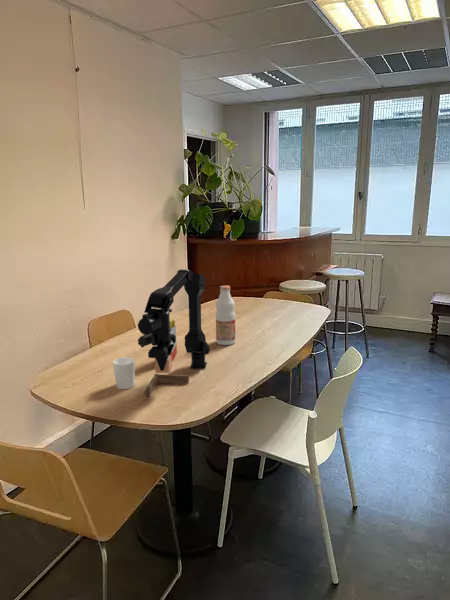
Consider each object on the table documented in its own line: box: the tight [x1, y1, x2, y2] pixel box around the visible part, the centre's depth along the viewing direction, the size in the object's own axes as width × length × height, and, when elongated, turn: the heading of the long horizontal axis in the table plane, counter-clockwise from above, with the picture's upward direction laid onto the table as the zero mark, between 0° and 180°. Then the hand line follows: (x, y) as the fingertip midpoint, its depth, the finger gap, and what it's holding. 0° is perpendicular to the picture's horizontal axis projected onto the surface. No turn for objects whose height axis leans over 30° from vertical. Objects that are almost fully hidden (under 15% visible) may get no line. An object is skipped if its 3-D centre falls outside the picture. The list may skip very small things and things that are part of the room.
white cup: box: [112, 356, 136, 390], centre depth 167 cm, size 8×8×10 cm
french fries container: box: [153, 319, 178, 362], centre depth 191 cm, size 5×11×18 cm, turn 153°
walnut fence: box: [145, 373, 190, 398], centre depth 165 cm, size 14×13×3 cm
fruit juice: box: [215, 285, 236, 346], centre depth 213 cm, size 9×9×28 cm
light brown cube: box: [154, 355, 173, 374], centre depth 161 cm, size 5×5×5 cm
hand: (163, 367), depth 161 cm, fingers closed on light brown cube, 5 cm apart
